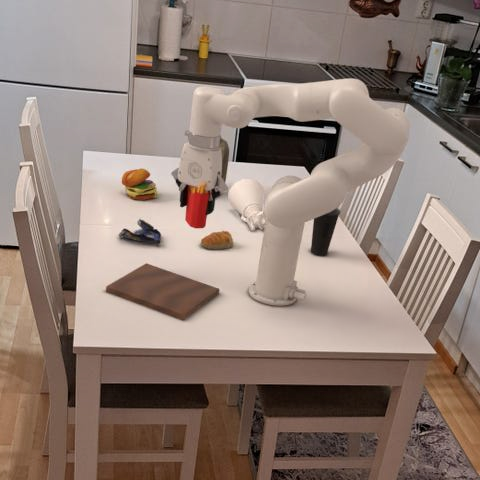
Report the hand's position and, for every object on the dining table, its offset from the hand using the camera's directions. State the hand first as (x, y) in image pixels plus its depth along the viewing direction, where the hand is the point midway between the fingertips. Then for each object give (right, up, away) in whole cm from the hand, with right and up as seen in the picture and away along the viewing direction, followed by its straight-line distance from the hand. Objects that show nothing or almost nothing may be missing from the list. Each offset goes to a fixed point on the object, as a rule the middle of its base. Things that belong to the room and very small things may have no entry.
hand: (196, 209), depth 202 cm
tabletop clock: (0, +14, +70) cm, 71 cm away
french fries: (0, -4, +2) cm, 4 cm away
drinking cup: (+34, -9, +35) cm, 50 cm away
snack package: (-17, -6, +27) cm, 32 cm away
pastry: (+4, -7, +30) cm, 31 cm away
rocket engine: (+13, +3, +51) cm, 52 cm away
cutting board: (-8, -21, -1) cm, 23 cm away
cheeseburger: (-22, +11, +57) cm, 62 cm away
